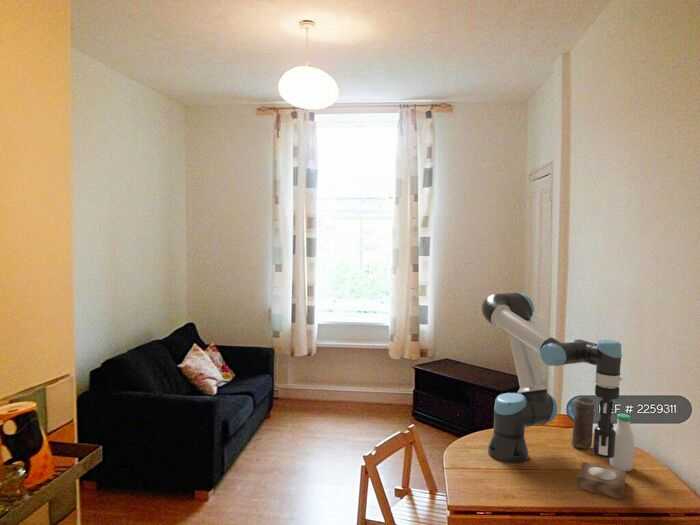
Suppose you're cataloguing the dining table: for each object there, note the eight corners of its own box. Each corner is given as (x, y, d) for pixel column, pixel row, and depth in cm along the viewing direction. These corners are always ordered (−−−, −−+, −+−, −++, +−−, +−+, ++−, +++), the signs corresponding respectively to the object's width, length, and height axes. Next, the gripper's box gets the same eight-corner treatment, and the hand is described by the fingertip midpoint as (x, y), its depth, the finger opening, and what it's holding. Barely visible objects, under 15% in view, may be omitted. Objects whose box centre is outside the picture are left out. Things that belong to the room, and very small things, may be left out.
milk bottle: (635, 472, 193) (638, 419, 192) (612, 470, 195) (616, 417, 193) (628, 464, 201) (631, 412, 199) (607, 461, 202) (610, 410, 201)
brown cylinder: (593, 446, 217) (595, 399, 215) (590, 452, 210) (593, 403, 209) (573, 442, 221) (576, 395, 219) (570, 447, 214) (572, 399, 213)
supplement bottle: (593, 456, 180) (595, 422, 179) (591, 449, 187) (593, 416, 186) (615, 460, 178) (617, 425, 177) (613, 452, 184) (615, 419, 184)
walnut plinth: (577, 487, 180) (578, 475, 180) (582, 472, 192) (582, 460, 192) (623, 499, 173) (623, 486, 173) (625, 482, 185) (625, 470, 185)
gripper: (617, 394, 170) (614, 463, 172) (621, 380, 187) (617, 443, 189) (592, 390, 174) (589, 458, 175) (598, 377, 191) (594, 438, 192)
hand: (603, 450), depth 182 cm, fingers closed on supplement bottle, 7 cm apart
